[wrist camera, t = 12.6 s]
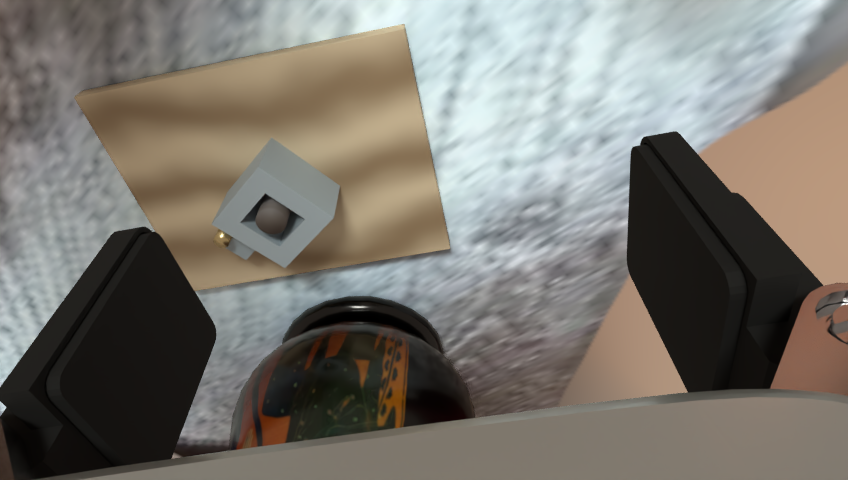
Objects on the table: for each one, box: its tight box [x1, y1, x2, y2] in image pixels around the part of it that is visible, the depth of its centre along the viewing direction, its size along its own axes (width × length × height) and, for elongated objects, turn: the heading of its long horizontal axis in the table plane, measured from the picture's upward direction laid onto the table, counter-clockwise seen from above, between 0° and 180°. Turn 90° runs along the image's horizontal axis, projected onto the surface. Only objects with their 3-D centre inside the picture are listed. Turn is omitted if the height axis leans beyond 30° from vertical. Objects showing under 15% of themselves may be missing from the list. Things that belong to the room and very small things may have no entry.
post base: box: [74, 24, 450, 291], centre depth 42 cm, size 19×24×6 cm
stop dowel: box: [213, 229, 232, 248], centre depth 44 cm, size 1×1×4 cm
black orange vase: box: [229, 296, 475, 451], centre depth 46 cm, size 22×22×28 cm
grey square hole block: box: [212, 137, 340, 268], centre depth 43 cm, size 9×6×4 cm
